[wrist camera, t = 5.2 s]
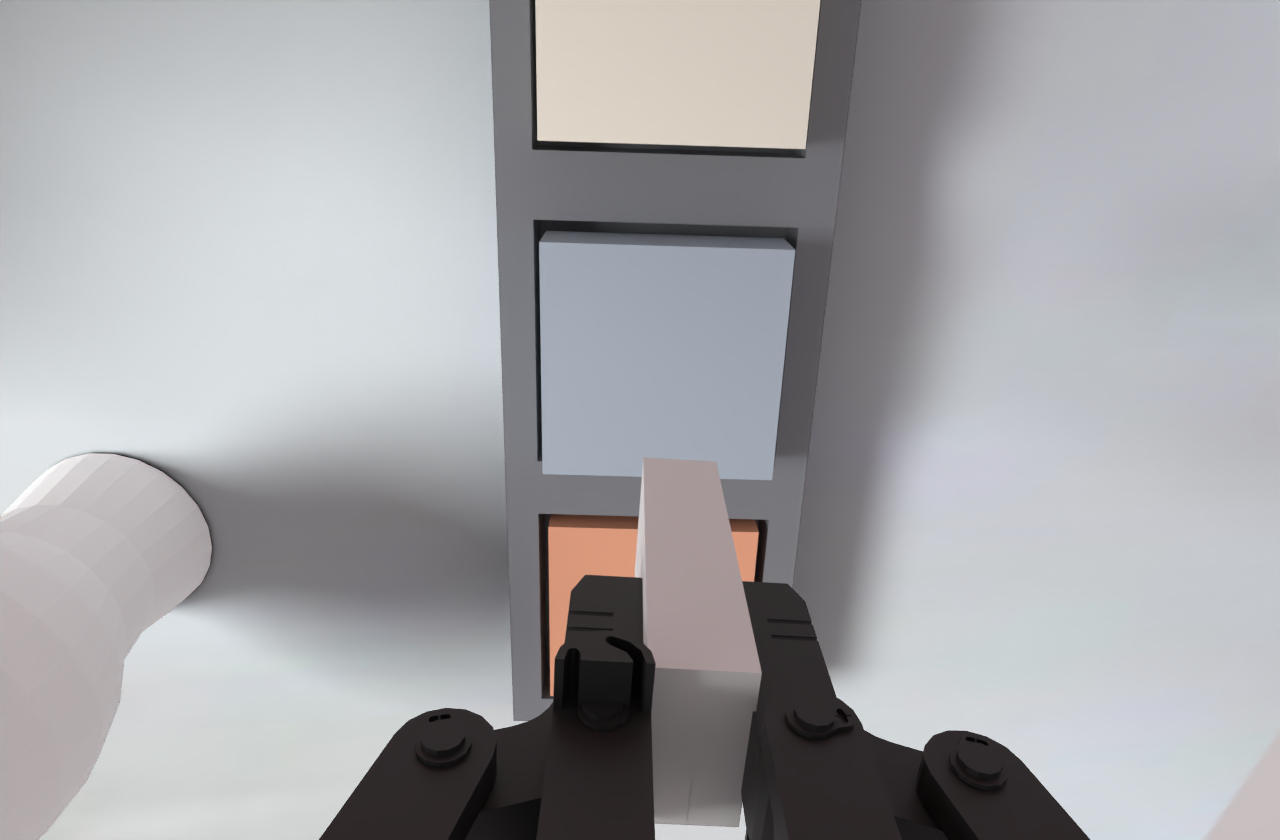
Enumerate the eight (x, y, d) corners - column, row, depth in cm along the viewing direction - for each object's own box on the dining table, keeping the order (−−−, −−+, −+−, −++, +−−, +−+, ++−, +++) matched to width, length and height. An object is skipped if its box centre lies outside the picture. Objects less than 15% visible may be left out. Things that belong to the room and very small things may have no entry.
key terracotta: (553, 499, 33) (548, 527, 31) (751, 505, 33) (758, 532, 31) (555, 661, 36) (550, 696, 34) (736, 666, 36) (742, 700, 34)
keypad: (501, -193, 26) (481, -234, 23) (855, -179, 26) (886, -218, 23) (524, 665, 38) (513, 720, 35) (764, 671, 39) (775, 726, 35)
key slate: (546, 230, 28) (538, 242, 26) (783, 237, 28) (795, 250, 26) (548, 448, 31) (542, 474, 29) (763, 454, 31) (772, 480, 29)
